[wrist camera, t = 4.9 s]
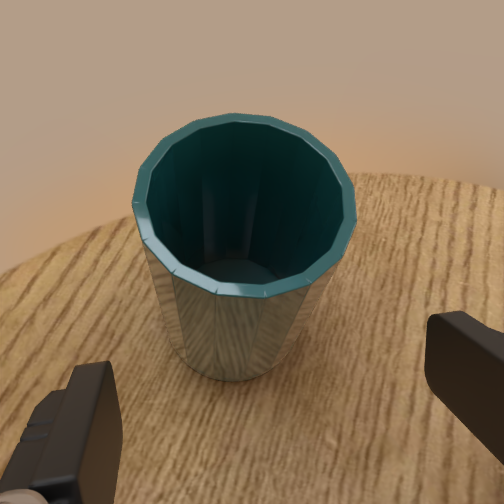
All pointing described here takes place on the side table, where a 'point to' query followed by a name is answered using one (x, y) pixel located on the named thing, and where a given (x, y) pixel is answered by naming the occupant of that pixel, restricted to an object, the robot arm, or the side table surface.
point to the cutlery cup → (241, 237)
